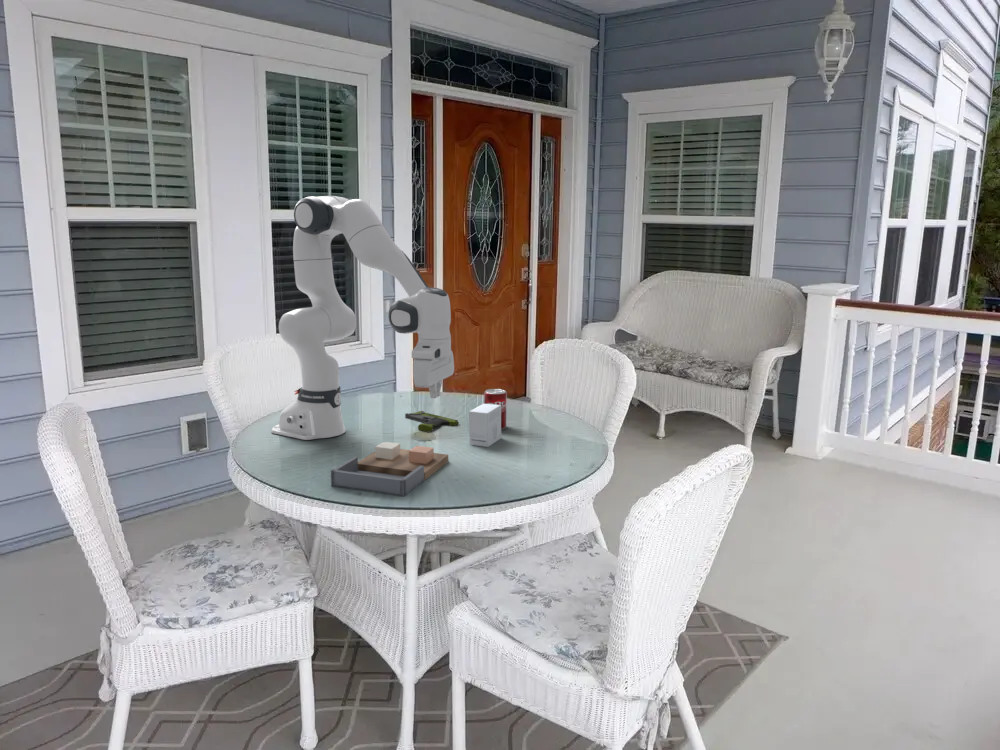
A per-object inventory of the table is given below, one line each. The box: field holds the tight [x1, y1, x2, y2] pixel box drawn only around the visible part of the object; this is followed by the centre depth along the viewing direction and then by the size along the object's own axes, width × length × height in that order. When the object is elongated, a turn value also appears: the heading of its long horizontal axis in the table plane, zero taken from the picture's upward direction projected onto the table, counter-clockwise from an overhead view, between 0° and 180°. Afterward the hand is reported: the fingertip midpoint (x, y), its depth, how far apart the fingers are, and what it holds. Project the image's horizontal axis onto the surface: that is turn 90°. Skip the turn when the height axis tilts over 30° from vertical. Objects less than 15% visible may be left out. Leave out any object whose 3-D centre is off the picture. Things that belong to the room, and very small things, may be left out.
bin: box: [330, 456, 425, 497], centre depth 196 cm, size 20×12×4 cm, turn 72°
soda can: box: [483, 388, 508, 431], centre depth 248 cm, size 7×7×12 cm
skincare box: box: [468, 403, 502, 448], centre depth 233 cm, size 10×6×10 cm, turn 157°
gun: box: [404, 410, 460, 433], centre depth 253 cm, size 2×19×15 cm
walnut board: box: [358, 448, 449, 481], centre depth 210 cm, size 20×16×2 cm
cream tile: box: [374, 441, 401, 459], centre depth 212 cm, size 5×5×3 cm
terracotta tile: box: [409, 445, 435, 464], centre depth 209 cm, size 5×5×3 cm
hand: (435, 397), depth 214 cm, fingers closed
